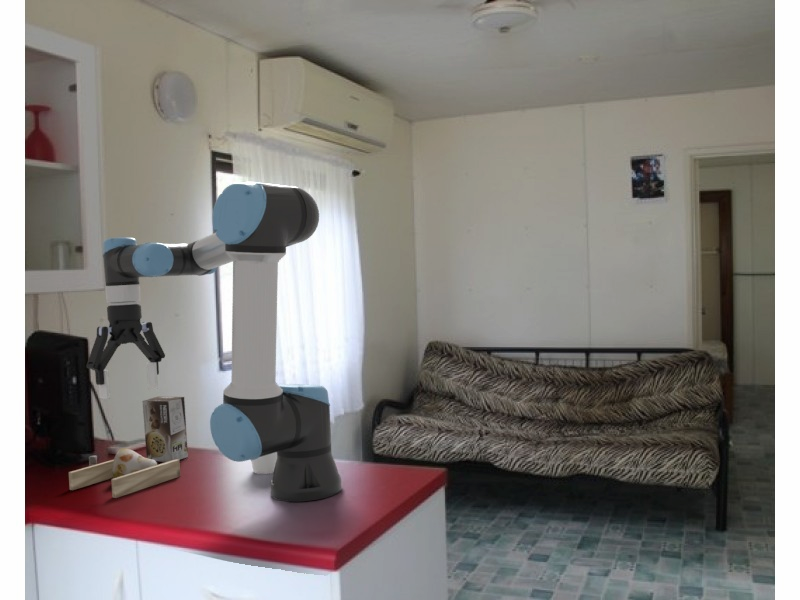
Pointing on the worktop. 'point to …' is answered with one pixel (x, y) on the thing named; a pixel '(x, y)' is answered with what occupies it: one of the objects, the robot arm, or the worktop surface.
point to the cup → (265, 464)
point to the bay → (124, 477)
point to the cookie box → (165, 428)
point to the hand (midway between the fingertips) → (129, 393)
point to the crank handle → (92, 460)
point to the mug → (130, 462)
